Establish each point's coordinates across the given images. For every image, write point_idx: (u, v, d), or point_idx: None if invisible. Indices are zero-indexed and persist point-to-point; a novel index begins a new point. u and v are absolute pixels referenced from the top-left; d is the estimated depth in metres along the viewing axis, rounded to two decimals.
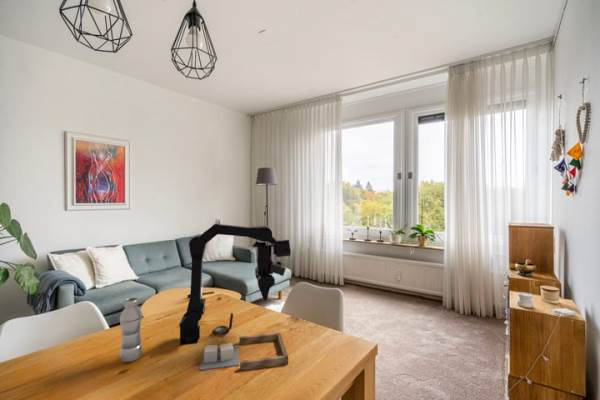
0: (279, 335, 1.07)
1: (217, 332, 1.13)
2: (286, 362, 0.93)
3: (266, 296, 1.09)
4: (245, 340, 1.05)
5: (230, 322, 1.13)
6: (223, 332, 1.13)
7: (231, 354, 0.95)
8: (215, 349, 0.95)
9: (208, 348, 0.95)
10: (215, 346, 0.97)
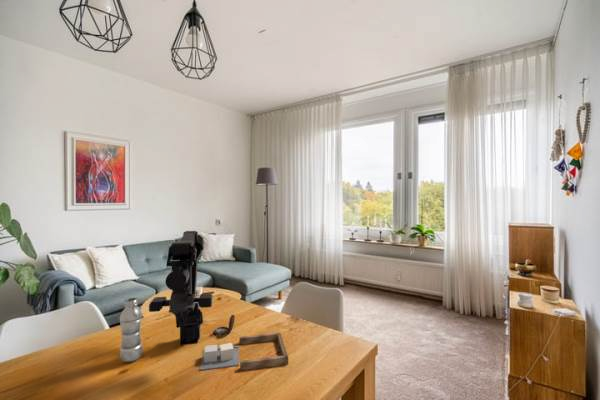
0: (279, 335, 1.07)
1: (217, 333, 1.12)
2: (286, 362, 0.93)
3: None
4: (245, 340, 1.05)
5: (229, 324, 1.11)
6: (223, 333, 1.12)
7: (231, 354, 0.95)
8: (215, 349, 0.95)
9: (208, 348, 0.95)
10: (215, 346, 0.97)
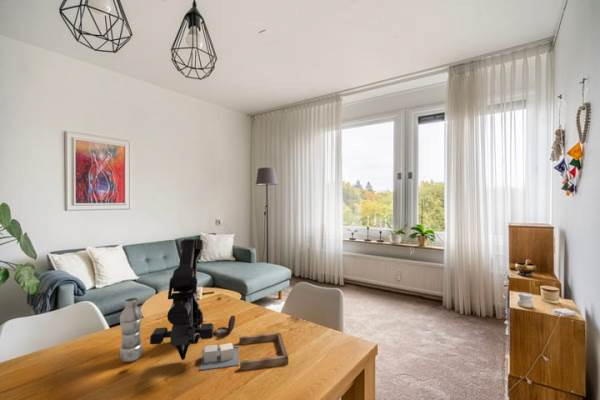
0: (279, 335, 1.07)
1: (217, 333, 1.12)
2: (286, 362, 0.93)
3: None
4: (245, 340, 1.05)
5: (229, 325, 1.11)
6: (222, 334, 1.11)
7: (231, 354, 0.95)
8: (215, 349, 0.95)
9: (208, 348, 0.95)
10: (215, 346, 0.97)
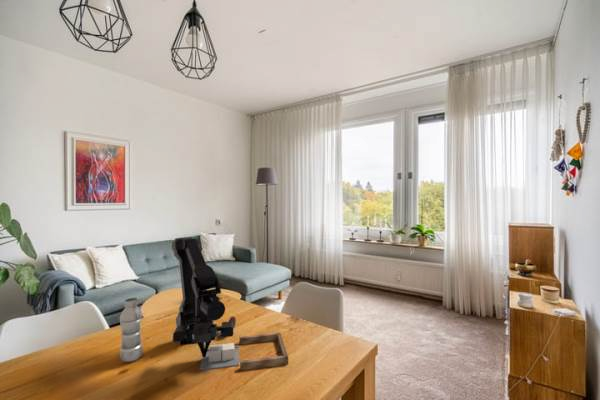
0: (279, 335, 1.07)
1: None
2: (286, 362, 0.93)
3: None
4: (245, 340, 1.05)
5: None
6: (221, 335, 1.11)
7: (232, 354, 0.95)
8: (220, 348, 0.95)
9: (213, 347, 0.96)
10: (219, 345, 0.97)
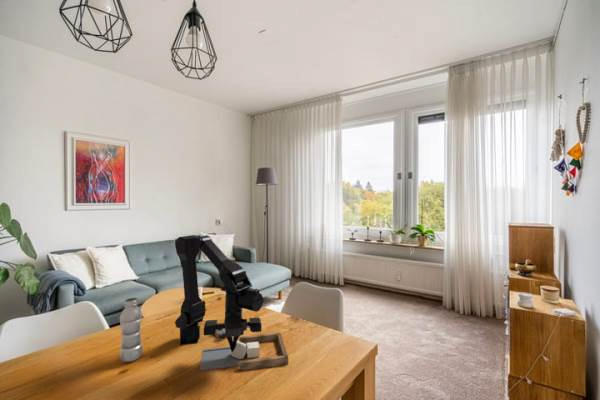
0: (279, 335, 1.07)
1: (215, 334, 1.11)
2: (286, 362, 0.93)
3: (230, 346, 0.96)
4: (245, 340, 1.05)
5: None
6: (220, 336, 1.10)
7: (257, 353, 0.97)
8: (245, 348, 0.97)
9: (239, 344, 0.98)
10: (245, 345, 0.99)
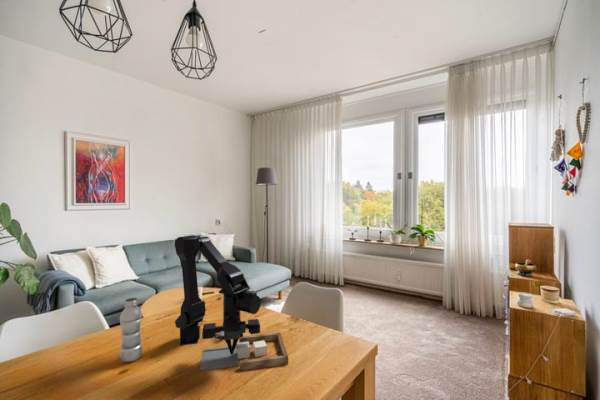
0: (279, 335, 1.07)
1: (215, 335, 1.11)
2: (286, 362, 0.93)
3: (229, 349, 0.96)
4: (245, 340, 1.05)
5: None
6: (220, 336, 1.10)
7: (265, 351, 0.98)
8: (248, 346, 0.97)
9: (241, 345, 0.98)
10: (247, 343, 0.99)
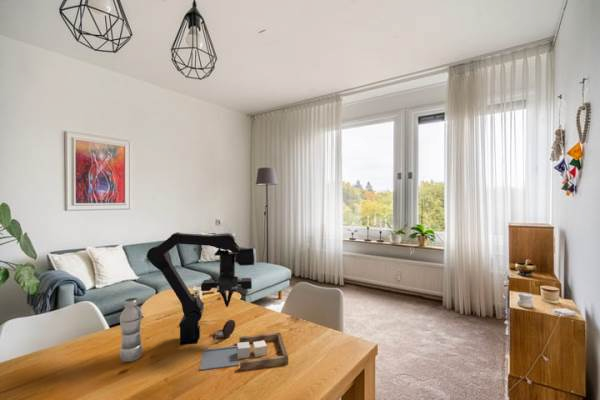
0: (279, 335, 1.07)
1: (214, 335, 1.10)
2: (286, 362, 0.93)
3: None
4: (245, 340, 1.05)
5: (223, 329, 1.07)
6: (219, 337, 1.09)
7: (265, 351, 0.98)
8: (248, 346, 0.97)
9: (241, 345, 0.98)
10: (247, 343, 0.99)
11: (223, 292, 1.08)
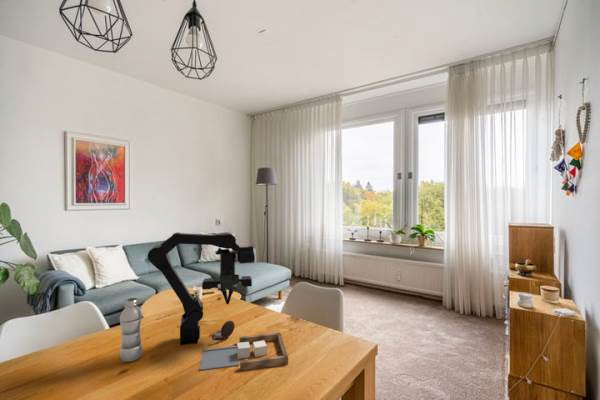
0: (279, 335, 1.07)
1: (214, 336, 1.10)
2: (286, 362, 0.93)
3: (225, 300, 1.12)
4: (245, 340, 1.05)
5: (221, 330, 1.06)
6: (217, 338, 1.08)
7: (265, 351, 0.98)
8: (248, 346, 0.97)
9: (241, 345, 0.98)
10: (247, 343, 0.99)
11: (224, 290, 1.10)
